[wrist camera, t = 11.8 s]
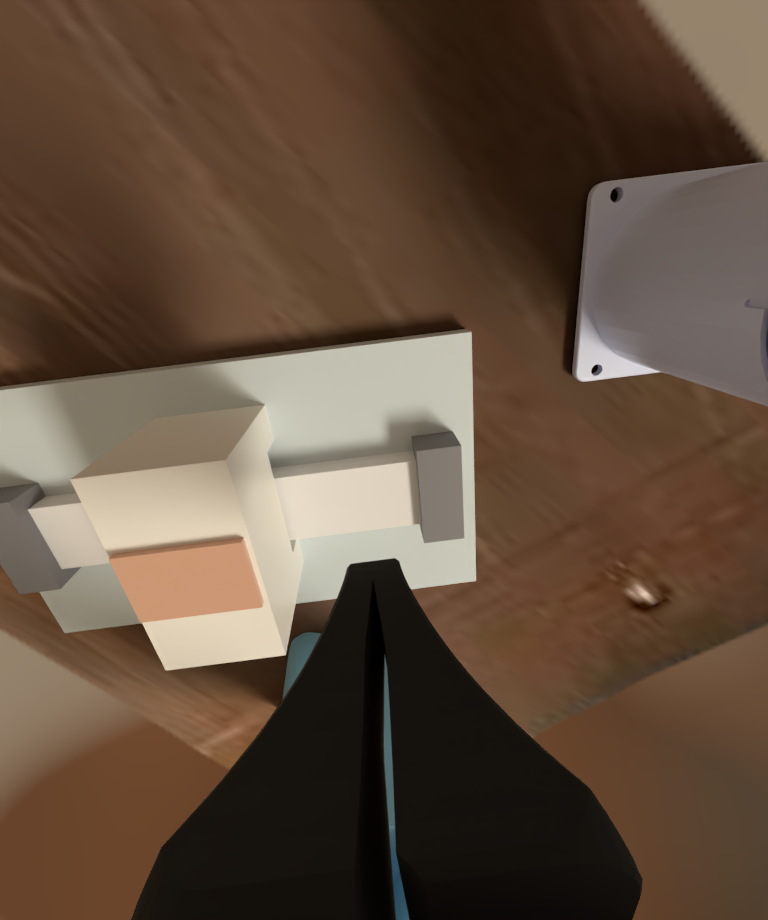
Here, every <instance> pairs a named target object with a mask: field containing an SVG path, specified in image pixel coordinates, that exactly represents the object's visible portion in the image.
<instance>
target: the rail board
mask: <svg viewBox="0 0 768 920" xmlns="http://www.w3.org/2000/svg"><path fill="white" fill-rule="evenodd" d="M258 405H265V406H266V410H267V414H268V418H269V422H270V427H271V431H272V435H273V439H274V441H273V443H272V445H271V447H270V449H269V450H268V452H267V454H268V457H269V461H270V465H271V469H272V473H273V477H274V481H275V485H276V489H277V492H278V496H279V500H280V504H281V508H282V512H283V516H284V520H285V524H286V527H287V531H288V535H289V539H290V540H297V539H298V540H299V544H300V548H301V553H302V557H303V561H304V563H303V568H302V573H301V578H300V584H299V589H298V594H297V599H296V604H298V603H306V602H314V601H322V600H330V599H337V597H338V594H339V592H340V589H341V586H342V583H343V580H344V577H345V574H346V570H347V567H348V566H349V565H350V564H353V563H361V562H369V561H376V560H384V559H392V558H396V559H397V560H399V561H400V566H401V569H402V571H403V574H404V576H405V579H406V581H407V583H408V585H409V587H410V589H417V588H424V587H432V586H440V585H448V584H456V583H464V582H472V581H476V551H475V495H474V440H473V384H472V332H471V331H469V330H467V329H462V330H454V331H446V332H438V333H430V334H422V335H414V336H406V337H398V338H390V339H381V340H373V341H365V342H357V343H349V344H341V345H333V346H325V347H317V348H309V349H301V350H293V351H284V352H276V353H268V354H260V355H252V356H244V357H236V358H228V359H220V360H212V361H204V362H196V363H188V364H179V365H171V366H163V367H155V368H147V369H139V370H131V371H123V372H115V373H107V374H99V375H91V376H82V377H74V378H66V379H58V380H50V381H42V382H34V383H26V384H18V385H10V386H2V387H0V565H1V566H2V568H3V569H4V571H5V572H6V574H7V575H8V577H9V579H10V580H11V582H12V583H13V585H14V586H15V588H16V589H17V591H18V592H19V594H27V593H35V592H39V593H40V594H41V596H42V597H43V599H44V601H45V602H46V604H47V605H48V607H49V609H50V610H51V612H52V614H53V615H54V617H55V618H56V620H57V622H58V623H59V625H60V626H61V628H62V630H63V631H64V633H70V632H78V631H86V630H93V629H101V628H109V627H117V626H125V625H133V624H141V623H140V621H139V619H138V617H137V615H136V613H135V611H134V609H133V607H132V605H131V603H130V601H129V599H128V597H127V595H126V593H125V591H124V589H123V587H122V585H121V583H120V581H119V579H118V577H117V575H116V573H115V571H114V569H113V567H112V565H111V564H110V562H109V560H108V559H109V556H108V554H107V552H106V550H105V548H104V546H103V545H102V543H101V541H100V539H99V537H98V535H97V533H96V531H95V529H94V527H93V525H92V523H91V521H90V519H89V517H88V515H87V513H86V511H85V509H84V507H83V505H82V503H81V501H80V499H79V497H78V495H77V493H76V491H75V489H74V487H73V485H72V483H71V481H70V479H71V478H73V477H74V476H75V475H77V474H78V473H80V472H81V471H82V470H84V469H85V468H87V467H88V466H89V465H91V464H92V463H94V462H95V461H96V460H98V459H99V458H101V457H102V456H103V455H105V454H106V453H108V452H109V451H110V450H112V449H113V448H115V447H116V446H117V445H119V444H120V443H122V442H123V441H124V440H126V439H127V438H129V437H130V436H132V435H133V434H134V433H136V432H137V431H139V430H140V429H141V428H143V427H144V426H146V425H147V424H148V423H150V422H151V421H153V420H154V419H155V418H162V417H170V416H178V415H186V414H194V413H202V412H210V411H218V410H226V409H234V408H242V407H250V406H258Z"/></svg>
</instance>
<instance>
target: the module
mask: <svg viewBox="0 0 768 920" xmlns="http://www.w3.org/2000/svg"><path fill="white" fill-rule="evenodd" d="M273 441H274V439H273V435H272V431H271V427H270V422H269V418H268V414H267V410H266V406H265V405H258V406H250V407H242V408H234V409H226V410H218V411H210V412H202V413H194V414H186V415H178V416H170V417H162V418H155V419H154V420H153V421H151V422H150V423H148V424H147V425H146V426H144V427H143V428H141V429H140V430H139V431H137V432H136V433H134V434H133V435H132V436H130V437H129V438H127V439H126V440H124V441H123V442H122V443H120V444H119V445H117V446H116V447H115V448H113V449H112V450H110V451H109V452H108V453H106V454H105V455H103V456H102V457H101V458H99V459H98V460H96V461H95V462H94V463H92V464H91V465H89V466H88V467H87V468H85V469H84V470H82V471H81V472H80V473H78V474H77V475H75V476H74V477H73V478H71V479H70V481H71V483H72V485H73V487H74V489H75V491H76V493H77V495H78V497H79V499H80V501H81V503H82V505H83V507H84V509H85V511H86V513H87V515H88V517H89V519H90V521H91V523H92V525H93V527H94V529H95V531H96V533H97V535H98V537H99V539H100V541H101V543H102V545H103V546H104V548H105V550H106V552H107V554H108V556H109V559H108V560H109V562H110V564H111V565H112V567H113V569H114V571H115V573H116V575H117V577H118V579H119V581H120V583H121V585H122V587H123V589H124V591H125V593H126V595H127V597H128V599H129V601H130V603H131V605H132V607H133V609H134V611H135V613H136V615H137V617H138V619H139V621H140V623H142V624H143V626H144V628H145V630H146V632H147V634H148V636H149V638H150V640H151V642H152V644H153V646H154V648H155V650H156V652H157V654H158V656H159V658H160V660H161V662H162V664H163V666H164V668H165V670H166V671H167V670H175V669H182V668H190V667H198V666H206V665H214V664H222V663H230V662H237V661H245V660H253V659H261V658H269V657H277V656H284V655H286V652H287V646H288V641H289V636H290V631H291V625H292V620H293V615H294V610H295V605H296V599H297V594H298V589H299V584H300V578H301V573H302V568H303V563H304V561H303V557H302V553H301V548H300V544H299V540H298V539H297V540H290V539H289V535H288V531H287V527H286V524H285V520H284V516H283V512H282V508H281V504H280V500H279V496H278V492H277V489H276V485H275V481H274V477H273V473H272V469H271V465H270V461H269V457H268V454H267V452H268V450H269V449H270V447H271V445H272V443H273Z"/></svg>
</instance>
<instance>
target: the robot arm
mask: <svg viewBox="0 0 768 920" xmlns="http://www.w3.org/2000/svg"><path fill="white" fill-rule="evenodd" d="M613 189H615V190H616V191H617V194H618V196H617V199H616V201H615V202H612V201H611V199H610V194H611V191H612V190H613ZM595 365H598V369H597V371H596V372H595V373H593V374H592V373H591V370H592V368H593V367H594V366H595ZM658 372H664V373H667V374H670V375H673V376H676V377H679V378H682V379H685V380H688V381H691V382H694V383H697V384H700V385H704V386H707V387H710V388H713V389H716V390H719V391H722V392H725V393H728V394H731V395H734V396H737V397H741V398H744V399H747V400H750V401H753V402H756V403H759V404H762V405H765V406H768V161H767V162H760V163H752V164H744V165H736V166H728V167H719V168H711V169H703V170H695V171H687V172H679V173H670V174H662V175H654V176H646V177H638V178H629V179H621V180H613V181H605V182H602V183H599V184H597V185H595V186H594V187H593V188H592V189H591V191H590V192H589V195H588V199H587V209H586V220H585V232H584V243H583V255H582V266H581V277H580V289H579V300H578V311H577V323H576V334H575V346H574V357H573V368H572V373H573V376H574V378H575V379H577V380H579V381H583V382H586V381H594V380H602V379H610V378H618V377H626V376H634V375H642V374H650V373H658ZM385 658H386V664H387V673H388V689H389V706H390V724H391V744H392V765H393V788H394V813H395V839H396V855H397V860H398V865H399V870H400V875H401V880H402V885H403V890H404V895H405V900H406V905H407V910H408V915H409V920H632V919H633V916H634V913H635V910H636V907H637V904H638V901H639V899H640V895H641V891H642V877H641V875H640V873H639V871H638V869H637V867H636V864H635V861H634V860H633V857H632V856H631V854H630V852H629V850H628V848H627V846H626V845H625V843H624V841H623V839H622V838H621V836H620V834H619V832H618V831H617V829H616V827H615V826H614V824H613V823H612V821H611V819H610V818H609V816H608V815H607V813H606V811H605V810H604V809H603V807H602V806H601V804H600V803H599V801H598V800H597V798H596V797H595V795H594V794H593V792H592V791H591V789H590V788H589V787H588V786H587V785H585V784H584V783H583V782H582V781H581V780H580V779H578V778H577V777H576V776H575V775H573V774H572V773H571V772H570V771H569V770H567V769H566V768H565V767H564V766H563V765H562V764H560V763H559V762H558V761H557V760H556V759H555V758H554V757H552V756H551V755H550V754H549V753H548V752H547V751H545V750H544V749H543V748H542V747H541V746H540V745H539V744H538V743H537V742H535V740H533V739H532V738H531V737H530V736H529V735H528V734H527V733H526V732H525V731H524V730H523V729H522V728H521V727H519V726H518V725H517V724H516V723H515V722H514V721H513V720H512V719H511V718H510V717H509V716H508V714H507V713H506V712H505V711H504V710H503V709H502V708H501V707H500V706H499V705H498V704H497V703H496V702H495V701H494V700H493V699H492V698H491V697H490V696H489V695H488V694H487V693H486V692H485V691H484V690H483V689H482V688H481V687H480V685H479V684H478V683H477V682H476V681H475V680H474V679H473V677H472V676H471V675H470V674H469V673H468V672H467V670H466V669H465V668H464V667H463V666H462V664H461V663H460V662H459V661H458V660H457V658H456V657H455V656H454V655H453V653H452V652H451V651H450V649H449V648H448V647H447V645H446V644H445V643H444V641H443V640H442V638H441V637H440V636H439V634H438V633H437V631H436V630H435V629H434V627H433V626H432V624H431V623H430V621H429V620H428V618H427V616H426V615H425V613H424V611H423V610H422V608H421V607H420V605H419V603H418V602H417V600H416V598H415V596H414V595H413V593H412V591H411V589H410V587H409V585H408V583H407V581H406V579H405V576H404V574H403V571H402V569H401V566H400V561H399V560H397V559H396V558H392V559H384V560H376V561H369V562H361V563H353V564H350V565H349V566H348V567H347V570H346V574H345V577H344V580H343V583H342V586H341V589H340V592H339V594H338V597H337V599H336V602H335V604H334V606H333V609H332V611H331V613H330V615H329V618H328V620H327V622H326V624H325V627H324V629H323V631H322V633H321V635H320V636H319V638H318V640H317V642H316V644H315V646H314V648H313V650H312V652H311V654H310V656H309V657H308V659H307V661H306V663H305V665H304V666H303V668H302V670H301V671H300V673H299V675H298V676H297V678H296V680H295V681H294V683H293V684H292V686H291V688H290V689H289V691H288V692H287V694H286V695H285V697H284V698H283V700H282V701H281V703H280V704H279V706H278V707H277V709H276V710H275V711H274V713H273V714H272V716H271V717H270V719H269V720H268V722H267V723H266V724H265V726H264V727H263V729H262V730H261V731H260V733H259V734H258V735H257V737H256V738H255V739H254V741H253V742H252V743H251V744H250V746H249V747H248V748H247V749H246V751H245V752H244V753H243V754H242V756H241V757H240V758H239V759H238V761H237V762H236V763H235V764H234V766H233V767H232V768H231V769H230V771H229V772H228V773H227V774H226V776H225V777H224V778H223V779H222V781H221V782H220V783H219V784H218V785H217V786H216V788H215V789H214V790H213V791H212V792H211V793H210V794H209V796H208V797H207V798H206V799H205V800H204V801H203V802H202V803H201V804H200V806H199V807H198V808H197V809H196V810H195V811H194V812H193V813H192V814H191V815H190V817H189V818H188V819H187V820H186V821H185V822H184V823H183V824H182V825H181V827H180V828H179V829H178V830H177V831H176V832H175V833H174V834H173V835H172V836H171V838H170V839H169V840H168V841H167V842H166V843H165V844H164V845H163V846H162V847H161V850H160V852H159V854H158V857H157V859H156V861H155V863H154V866H153V868H152V870H151V873H150V875H149V877H148V879H147V881H146V883H145V886H144V888H143V891H142V893H141V895H140V897H139V900H138V902H137V905H136V908H135V911H134V914H133V917H132V919H131V920H396V912H395V899H394V886H393V874H392V861H391V847H390V834H389V820H388V807H387V792H386V778H385V764H384V671H385Z"/></svg>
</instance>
